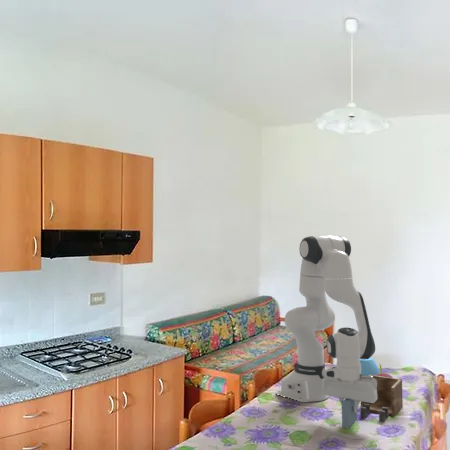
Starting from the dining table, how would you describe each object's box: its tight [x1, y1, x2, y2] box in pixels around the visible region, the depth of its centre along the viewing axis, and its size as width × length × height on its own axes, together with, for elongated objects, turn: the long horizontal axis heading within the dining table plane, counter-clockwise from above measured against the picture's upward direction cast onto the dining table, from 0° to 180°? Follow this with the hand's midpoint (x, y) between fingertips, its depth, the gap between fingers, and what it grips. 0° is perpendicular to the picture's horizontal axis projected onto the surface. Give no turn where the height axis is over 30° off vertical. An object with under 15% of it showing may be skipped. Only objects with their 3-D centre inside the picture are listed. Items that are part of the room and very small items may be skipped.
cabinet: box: [360, 375, 403, 422], centre depth 190 cm, size 13×20×11 cm, turn 147°
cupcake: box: [376, 364, 394, 378], centre depth 218 cm, size 9×8×12 cm
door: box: [341, 398, 360, 429], centre depth 178 cm, size 10×3×9 cm, turn 147°
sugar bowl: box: [360, 356, 381, 376], centre depth 236 cm, size 15×15×12 cm
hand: (349, 410), depth 178 cm, fingers closed on door, 2 cm apart
